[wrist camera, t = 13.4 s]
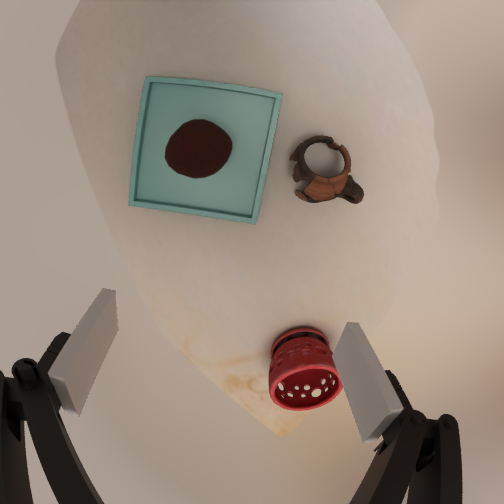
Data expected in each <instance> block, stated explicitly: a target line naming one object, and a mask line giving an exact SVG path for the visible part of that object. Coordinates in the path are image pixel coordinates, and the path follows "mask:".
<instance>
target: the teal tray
mask: <svg viewBox="0 0 504 504" xmlns="http://www.w3.org/2000/svg"><path fill="white" fill-rule="evenodd" d="M282 95H283V94H281V93H277V92H272V91H267V90H262V89H257V88H251V87H246V86H240V85H233V84H227V83H219V82H212V81H203V80H193V79H182V78H169V77H147V76H146V77H145V82H144V87H143V92H142V98H141V103H140V109H139V115H138V121H137V128H136V135H135V142H134V150H133V159H132V168H131V179H130V191H129V206H136V207H143V208H150V209H157V210H164V211H171V212H178V213H185V214H192V215H199V216H205V217H212V218H218V219H225V220H231V221H237V222H243V223H250V224H256V223H257V218H258V213H259V208H260V203H261V198H262V193H263V188H264V183H265V178H266V173H267V169H268V164H269V159H270V154H271V149H272V144H273V139H274V134H275V129H276V124H277V120H278V115H279V110H280V105H281V100H282ZM193 119H205V120H208V121H211V122H213V123H215V124H216V125H218V126H219V127H221V128H222V129H223V130H224V131H225V132H226V133H227V134H228V135H229V136H230V138H231V140H232V151H231V155H230V157H229V159H228V161H227V162H226V164H225V165H224V166H223V167H222V168H221V169H220V170H219V171H218V172H216V173H215V174H213V175H211V176H208V177H205V178H197V179H194V178H190V177H187V176H184V175H181V174H178V173H176V172H175V171H174V170H173V169H171V168H170V167H169V166H168V164H167V162H166V160H165V148H166V145H167V143H168V141H169V139H170V136H171V135H172V134H173V133H174V132H175V131H176V130H177V129H178V128H179V127H180V126H181V125H182V124H183V123H185V122H188V121H190V120H193Z"/></svg>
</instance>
